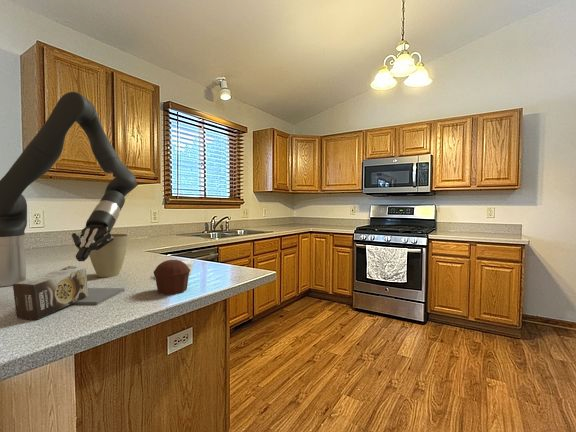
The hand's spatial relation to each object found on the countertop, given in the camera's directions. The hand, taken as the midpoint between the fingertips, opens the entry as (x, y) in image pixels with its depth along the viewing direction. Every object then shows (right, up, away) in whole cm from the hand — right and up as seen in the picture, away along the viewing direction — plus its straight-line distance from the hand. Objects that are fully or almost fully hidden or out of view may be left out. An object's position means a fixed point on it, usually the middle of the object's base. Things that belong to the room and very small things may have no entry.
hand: (79, 259), depth 91 cm
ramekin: (+19, -11, +31) cm, 38 cm away
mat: (0, -12, +3) cm, 12 cm away
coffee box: (0, -6, 0) cm, 6 cm away
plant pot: (-9, -11, +31) cm, 34 cm away
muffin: (+24, -12, +9) cm, 28 cm away
